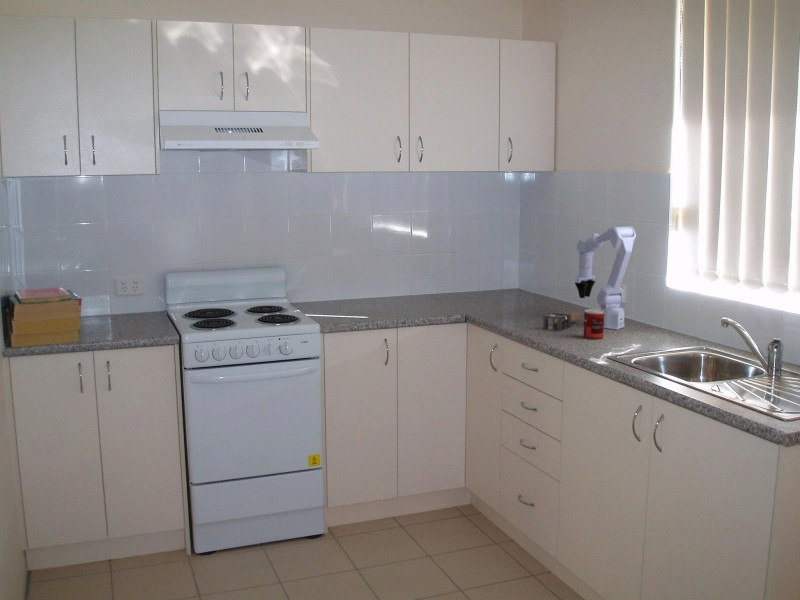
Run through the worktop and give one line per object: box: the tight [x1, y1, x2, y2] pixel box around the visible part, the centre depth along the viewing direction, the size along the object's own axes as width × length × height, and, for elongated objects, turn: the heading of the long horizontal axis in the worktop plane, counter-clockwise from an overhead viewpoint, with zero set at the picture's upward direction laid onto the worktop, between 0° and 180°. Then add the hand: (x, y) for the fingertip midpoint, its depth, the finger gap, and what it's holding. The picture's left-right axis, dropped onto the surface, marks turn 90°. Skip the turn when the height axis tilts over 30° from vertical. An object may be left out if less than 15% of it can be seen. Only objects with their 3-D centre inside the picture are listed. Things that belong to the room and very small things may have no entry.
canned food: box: [583, 308, 605, 340], centre depth 332 cm, size 8×8×11 cm
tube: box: [554, 311, 582, 326], centre depth 359 cm, size 4×18×4 cm, turn 140°
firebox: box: [541, 311, 573, 332], centre depth 352 cm, size 8×12×6 cm, turn 140°
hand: (584, 297), depth 369 cm, fingers open, 4 cm apart
